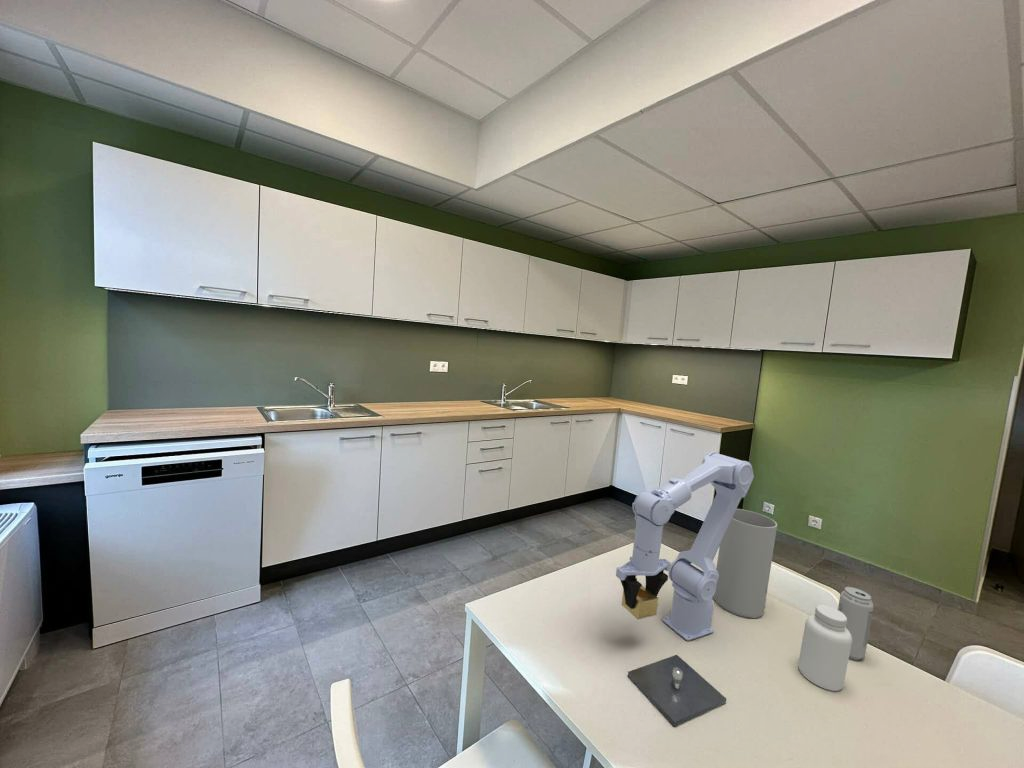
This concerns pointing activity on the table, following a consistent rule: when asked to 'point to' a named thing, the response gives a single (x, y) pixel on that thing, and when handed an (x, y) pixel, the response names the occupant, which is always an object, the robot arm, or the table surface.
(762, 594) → the cylinder vase
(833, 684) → the pill bottle
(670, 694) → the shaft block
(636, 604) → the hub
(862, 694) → the table surface
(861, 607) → the energy drink can
